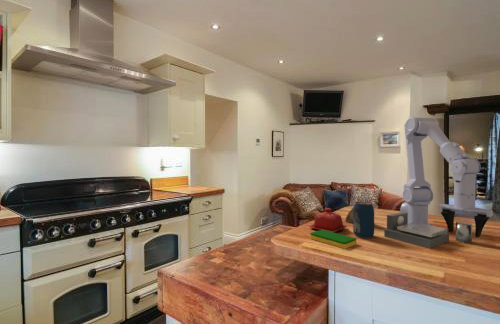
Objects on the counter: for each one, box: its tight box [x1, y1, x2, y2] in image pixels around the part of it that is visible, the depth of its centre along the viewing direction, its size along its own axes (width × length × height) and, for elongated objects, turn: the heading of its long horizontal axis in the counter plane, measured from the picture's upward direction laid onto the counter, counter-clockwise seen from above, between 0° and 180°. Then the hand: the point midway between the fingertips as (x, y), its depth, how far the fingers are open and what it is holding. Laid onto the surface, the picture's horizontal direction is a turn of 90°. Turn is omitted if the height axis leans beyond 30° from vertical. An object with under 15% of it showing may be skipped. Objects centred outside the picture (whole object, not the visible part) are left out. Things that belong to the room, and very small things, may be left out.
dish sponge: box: [309, 230, 357, 249], centre depth 95 cm, size 7×14×2 cm, turn 38°
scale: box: [383, 212, 450, 249], centre depth 97 cm, size 15×13×8 cm
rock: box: [345, 200, 375, 225], centre depth 120 cm, size 11×9×10 cm
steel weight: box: [455, 221, 473, 244], centre depth 94 cm, size 4×4×6 cm
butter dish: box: [308, 207, 348, 233], centre depth 110 cm, size 12×12×8 cm
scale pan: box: [397, 222, 449, 237], centre depth 95 cm, size 12×11×1 cm
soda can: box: [352, 201, 375, 239], centre depth 100 cm, size 7×7×12 cm
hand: (463, 234), depth 94 cm, fingers open, 7 cm apart
